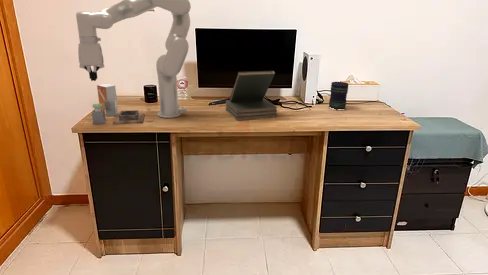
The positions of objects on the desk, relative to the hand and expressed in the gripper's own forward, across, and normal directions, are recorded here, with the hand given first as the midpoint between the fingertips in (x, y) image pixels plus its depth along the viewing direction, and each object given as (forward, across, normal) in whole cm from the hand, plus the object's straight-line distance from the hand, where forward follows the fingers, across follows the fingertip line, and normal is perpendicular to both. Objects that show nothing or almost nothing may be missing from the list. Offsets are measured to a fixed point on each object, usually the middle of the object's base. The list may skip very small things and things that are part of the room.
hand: (93, 80), depth 164 cm
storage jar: (+21, -132, -11) cm, 134 cm away
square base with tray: (+21, -14, -3) cm, 25 cm away
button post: (+21, 0, 0) cm, 21 cm away
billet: (+21, -4, -13) cm, 25 cm away
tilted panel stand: (+22, -78, -6) cm, 81 cm away
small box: (+21, 0, -27) cm, 34 cm away
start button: (+19, 0, 0) cm, 19 cm away
